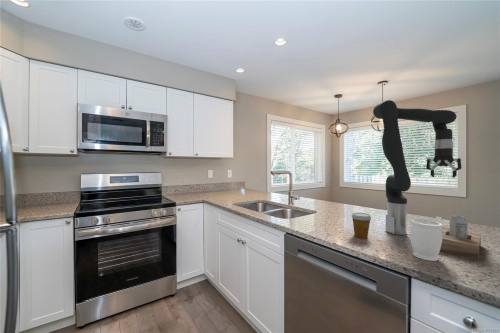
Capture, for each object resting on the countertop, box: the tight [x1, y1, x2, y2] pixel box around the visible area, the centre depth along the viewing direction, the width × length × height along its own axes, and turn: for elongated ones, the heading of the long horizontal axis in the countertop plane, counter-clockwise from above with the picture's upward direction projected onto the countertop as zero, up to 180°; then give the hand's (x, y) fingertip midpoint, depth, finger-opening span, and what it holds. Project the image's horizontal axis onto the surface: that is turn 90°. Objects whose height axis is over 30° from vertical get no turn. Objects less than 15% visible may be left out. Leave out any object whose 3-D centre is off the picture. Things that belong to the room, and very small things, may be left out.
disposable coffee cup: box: [351, 212, 372, 239], centre depth 115 cm, size 10×10×12 cm
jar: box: [409, 218, 443, 262], centre depth 90 cm, size 11×10×15 cm
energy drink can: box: [449, 214, 469, 239], centre depth 100 cm, size 6×6×15 cm
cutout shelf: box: [439, 226, 482, 261], centre depth 100 cm, size 24×14×6 cm, turn 131°
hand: (443, 177), depth 118 cm, fingers open, 8 cm apart
